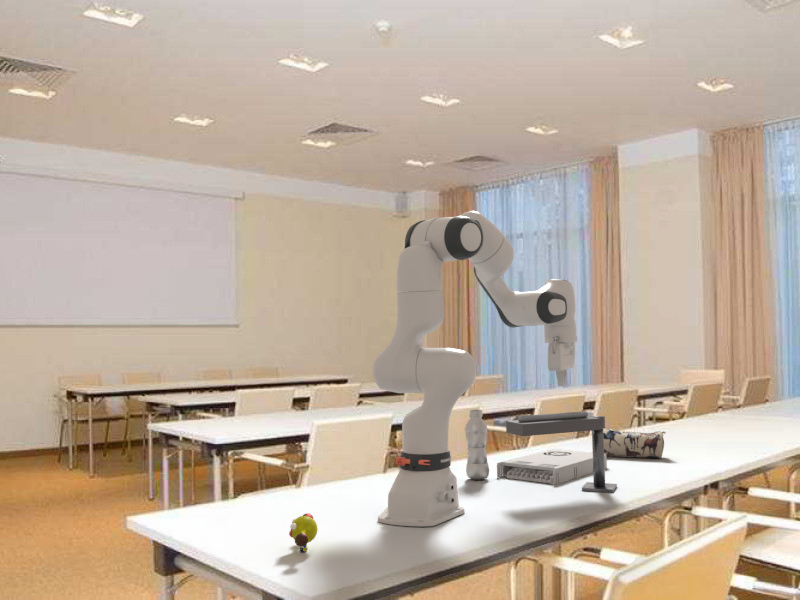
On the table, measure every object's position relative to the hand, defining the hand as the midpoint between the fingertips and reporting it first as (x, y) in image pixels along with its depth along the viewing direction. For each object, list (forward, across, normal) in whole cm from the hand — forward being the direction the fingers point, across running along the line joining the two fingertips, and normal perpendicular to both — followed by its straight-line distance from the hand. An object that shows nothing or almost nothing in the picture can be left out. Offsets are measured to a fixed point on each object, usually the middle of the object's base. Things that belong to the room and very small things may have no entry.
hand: (561, 385), depth 211 cm
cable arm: (+11, -15, -2) cm, 18 cm away
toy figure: (+27, -83, +36) cm, 94 cm away
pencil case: (+27, +50, -13) cm, 58 cm away
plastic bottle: (+27, -3, +25) cm, 37 cm away
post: (+27, -6, -10) cm, 30 cm away
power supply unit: (+28, +14, +6) cm, 32 cm away
